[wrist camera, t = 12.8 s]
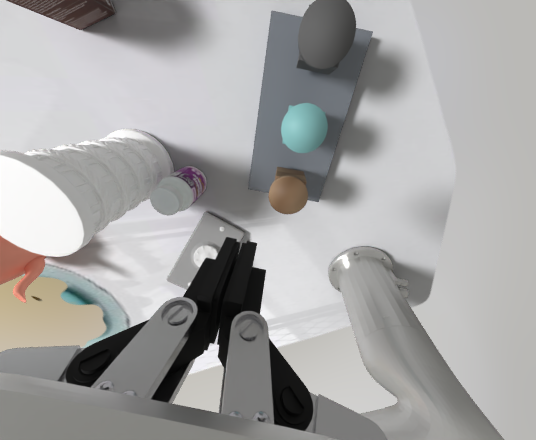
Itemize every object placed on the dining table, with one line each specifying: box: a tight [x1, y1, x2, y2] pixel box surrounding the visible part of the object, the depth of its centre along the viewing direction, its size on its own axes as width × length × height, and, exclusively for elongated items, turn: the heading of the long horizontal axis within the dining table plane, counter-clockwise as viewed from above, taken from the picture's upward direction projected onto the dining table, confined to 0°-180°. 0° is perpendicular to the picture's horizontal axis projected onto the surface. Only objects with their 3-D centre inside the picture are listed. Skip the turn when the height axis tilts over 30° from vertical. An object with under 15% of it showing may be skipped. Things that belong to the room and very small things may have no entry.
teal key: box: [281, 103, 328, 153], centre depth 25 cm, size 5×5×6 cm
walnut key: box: [269, 167, 308, 214], centre depth 29 cm, size 5×5×6 cm
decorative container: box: [0, 129, 174, 257], centre depth 27 cm, size 12×12×18 cm
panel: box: [248, 11, 373, 202], centre depth 28 cm, size 12×22×6 cm, turn 170°
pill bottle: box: [150, 166, 207, 215], centre depth 32 cm, size 5×5×10 cm
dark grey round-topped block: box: [296, 0, 356, 74], centre depth 21 cm, size 5×5×6 cm
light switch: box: [167, 212, 245, 290], centre depth 40 cm, size 8×6×14 cm
